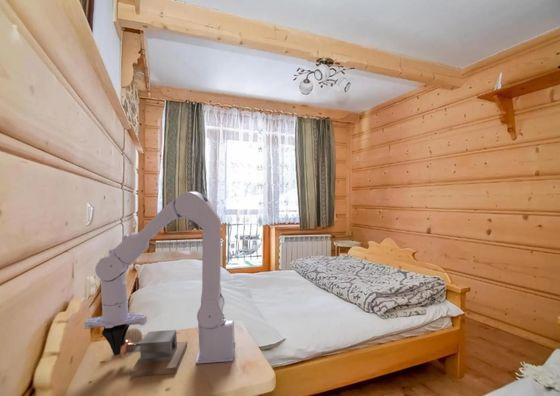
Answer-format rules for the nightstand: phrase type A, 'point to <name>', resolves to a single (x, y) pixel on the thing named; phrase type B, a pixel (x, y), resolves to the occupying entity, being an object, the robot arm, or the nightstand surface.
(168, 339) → the housing
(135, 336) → the cream ribbed curved piece
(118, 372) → the nightstand surface
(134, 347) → the shaft
